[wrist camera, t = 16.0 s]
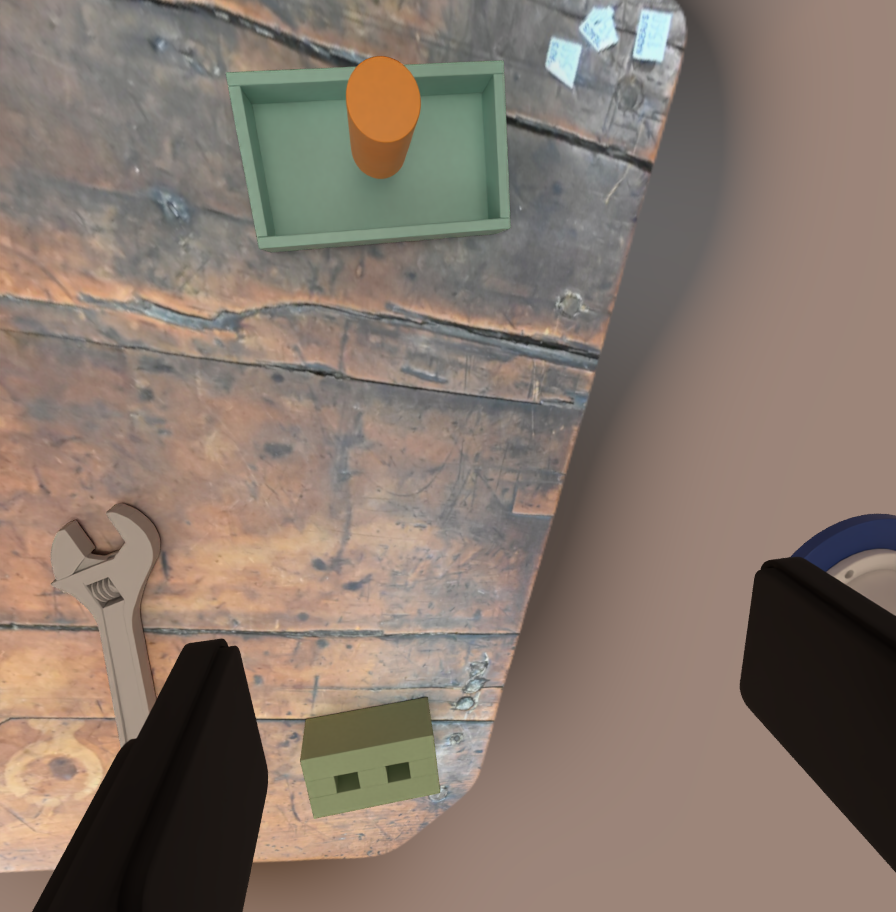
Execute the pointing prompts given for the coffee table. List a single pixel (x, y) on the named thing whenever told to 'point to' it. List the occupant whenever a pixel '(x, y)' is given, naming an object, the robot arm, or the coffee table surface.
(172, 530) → the coffee table surface
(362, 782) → the holder
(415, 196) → the tray
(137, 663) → the adjustable wrench
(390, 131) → the orange handle
